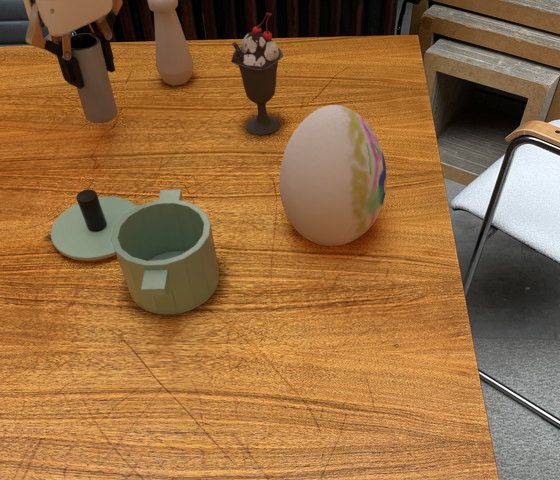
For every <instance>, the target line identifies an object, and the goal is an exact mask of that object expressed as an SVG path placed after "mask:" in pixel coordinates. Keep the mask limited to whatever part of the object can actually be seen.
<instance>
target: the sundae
mask: <svg viewBox="0 0 560 480" xmlns="http://www.w3.org/2000/svg"><path fill="white" fill-rule="evenodd" d="M271 16H272V12H266V13H265V16H264V17H263V20H262V21H261V22H260V24H259V25H256V26H254V27H253V28H252V31H250V32H248V33H246V34H245V35H244V37H243V39H242V40H241V46H239V44H238V43H237V42H236V41H234V42H232V43H231V44H232V46H233V48H234V51H233V54H232V57H231V60H230V62H231V63H232V64H234V65H236V66H237V67H238V69H239V72H240V75H241V80H242V84H243V88H244V92H245V95H246V97H247V99H249V100H250V101H251V102H252V103H254V104H256V106H257V115H255V116H253V117H251V118H250V119H248V121H247V122H246V124H245V129H246V130H247V131H248V132H249V133H251V134H253V135H256V136H257V135H258V136H266V135H270V134H273V133H275V132H276V131H278V130H279V128H280V127H281V121H280V120H279V118H278V117H276V116H275V115H274V116H273V115H270V114H268V113H267V112H268V111H267V103H269V102H270V101H271V100H272V99H273V97H274V96H275V94H276V93H275V92H276V89H277V75H278V74H277V73H278V72H277V71H278V65H279V61H280V60H282V58H283V57H284V52H283V51H282V50H281V48H280V47H278V45H277V43H276V41H274V40H273V39H272V38H273V34H272V32H271V31H270V30H268V21H269V18H270V17H271ZM265 20H266V22H265ZM264 22H265V31H264V32H263V30H262V28H261V26H262V24H264Z"/></svg>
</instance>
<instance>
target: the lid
mask: <svg viewBox="0 0 560 480" xmlns="http://www.w3.org/2000/svg"><path fill="white" fill-rule="evenodd" d="M75 198H76V202H77V203H75V204H73V205H71V206H70V207H68V208H66V209H65V210H64V211H63V212H62V213H60V214H59V216H57V218H56V219H55V221H54V222H53V224H52V227H51V230H50V238H51V242H52V244H53V247H54V248H55V249H56V250H57V251H58V252H59V253H60V254H61V255H63V256H65V257H67V258H70V259H72V260H77V261H89V262H90V261H98V260H103V259H108V258H111V257H113V256H117V255H116V252H115V249H114V246H113V244H112V241H111V238H112V234H113V230H114V226H115V225H116V224H117V222H118V221H119V220H120V219H121V218H122V217H123V215H124V214H126V213H127V212H129V211H131V210H132V209H134V208H136V207H137V206H138V205H136V203H134V202H133V201H131V200H128V199H126V198H123V197H119V196H98V193H97V192H96V190H94V189H89V188H88V189H84V190H81V191H79V192H78V193H77V194H76V197H75Z"/></svg>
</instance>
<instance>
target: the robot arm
mask: <svg viewBox="0 0 560 480" xmlns="http://www.w3.org/2000/svg"><path fill="white" fill-rule="evenodd" d="M23 3H24V4H23V5H24V8H25V11H26V15H27V18H28V24H27V29H26V34H25V42H26V44H29V45H31V46H34V47H35V48H39V49H42V50H43V51H44V50H45V51H46V52H49V53H51V54H52V55H55V56H56V58H57V61H58V62H57V63H58V65H59V68H60V72H61V73H62V74H61V75H62V78H63V79H64V81H65V82H67V84H69V85H71V86H73V87H75V88H76V89H77V88H79V89H82V88H83V87H84V81H83V78H82V74H81V71H80V67H79V64H78V60H77V58H76V57H73V56H72V52H71V40H70V37H71V33H73V32H75V31H77V30H78V29H81V28H83V27H85V26H89V28H90V30H91V34H94V35H96V36H97V37H98V38H99V40H100V43H101V47H102V51H103V55H104V59H105V63H106V67H107V71H108V73H114V72H115V71H116V66H115V62H114V60H115V58H114V53H113V49H112V44H111V40H112V38H113V32H112V31H113V27H114V25H115V22H116V20H117V19H116V17H117V15H118V13H119V12H120V9H121V8H122V6H123V0H23ZM44 28H47V30H48V38H47V37H44V35H43V32H44Z"/></svg>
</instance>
